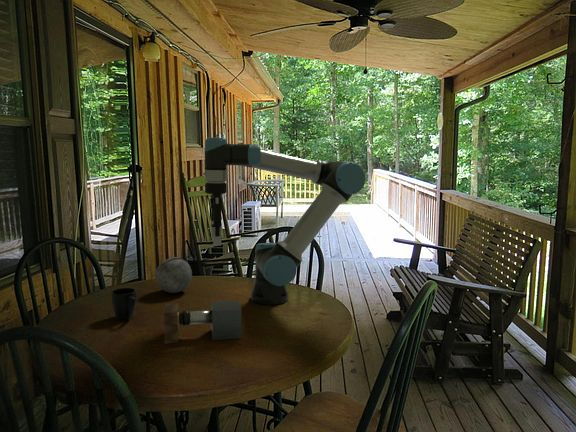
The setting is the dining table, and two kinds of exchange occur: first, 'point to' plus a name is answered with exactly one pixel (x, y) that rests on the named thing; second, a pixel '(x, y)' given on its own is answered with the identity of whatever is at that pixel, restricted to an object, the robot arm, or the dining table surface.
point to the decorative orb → (173, 275)
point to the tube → (194, 317)
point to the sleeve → (226, 320)
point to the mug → (123, 302)
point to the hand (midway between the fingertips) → (216, 241)
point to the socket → (171, 323)
